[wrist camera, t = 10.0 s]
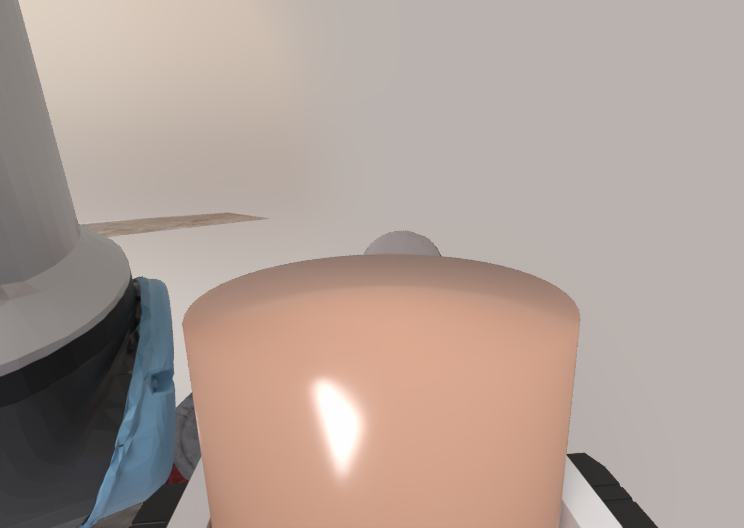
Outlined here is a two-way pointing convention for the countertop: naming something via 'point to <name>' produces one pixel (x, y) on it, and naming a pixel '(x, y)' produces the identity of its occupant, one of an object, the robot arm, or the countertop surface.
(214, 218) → the countertop surface
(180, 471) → the canned food
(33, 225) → the robot arm
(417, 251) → the ice cream cone
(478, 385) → the peach round cylinder
